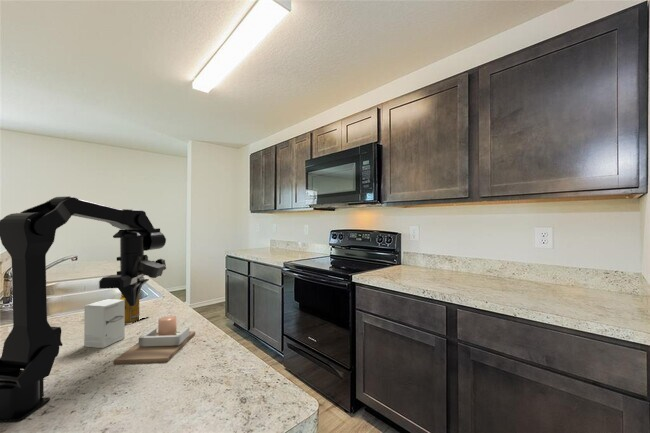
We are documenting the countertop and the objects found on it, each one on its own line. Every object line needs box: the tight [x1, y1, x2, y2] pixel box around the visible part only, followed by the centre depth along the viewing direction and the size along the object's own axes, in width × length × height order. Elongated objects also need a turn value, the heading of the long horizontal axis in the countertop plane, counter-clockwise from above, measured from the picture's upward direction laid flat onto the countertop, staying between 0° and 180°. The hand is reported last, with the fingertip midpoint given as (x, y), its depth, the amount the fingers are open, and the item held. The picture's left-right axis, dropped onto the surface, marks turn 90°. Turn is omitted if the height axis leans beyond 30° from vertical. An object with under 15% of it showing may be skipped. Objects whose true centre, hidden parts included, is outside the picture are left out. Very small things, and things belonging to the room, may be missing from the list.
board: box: [113, 330, 196, 365], centre depth 84 cm, size 18×14×1 cm
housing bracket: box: [138, 327, 190, 347], centre depth 85 cm, size 7×11×2 cm, turn 93°
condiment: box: [119, 292, 140, 326], centre depth 108 cm, size 7×8×12 cm
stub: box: [157, 315, 178, 336], centre depth 88 cm, size 5×5×6 cm
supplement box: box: [83, 298, 126, 349], centre depth 88 cm, size 7×7×13 cm
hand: (132, 305), depth 83 cm, fingers closed
